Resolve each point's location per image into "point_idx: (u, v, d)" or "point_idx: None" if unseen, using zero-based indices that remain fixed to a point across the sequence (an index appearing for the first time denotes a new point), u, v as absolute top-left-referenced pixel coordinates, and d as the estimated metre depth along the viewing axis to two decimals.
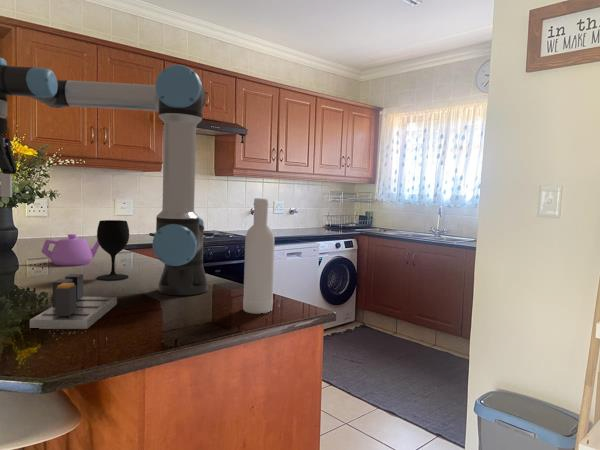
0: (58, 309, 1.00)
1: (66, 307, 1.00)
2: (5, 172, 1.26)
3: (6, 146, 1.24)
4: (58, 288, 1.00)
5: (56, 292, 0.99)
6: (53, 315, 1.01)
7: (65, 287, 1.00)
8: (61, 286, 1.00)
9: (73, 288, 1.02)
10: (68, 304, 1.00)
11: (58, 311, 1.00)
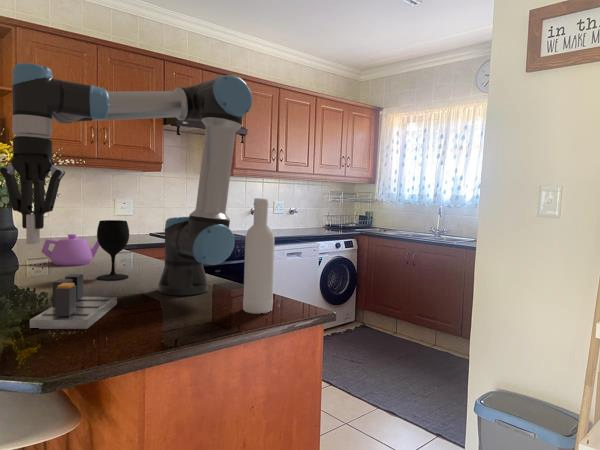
0: (58, 309, 1.00)
1: (66, 307, 1.00)
2: None
3: None
4: (58, 288, 1.00)
5: (56, 292, 0.99)
6: (53, 315, 1.01)
7: (65, 287, 1.00)
8: (61, 286, 1.00)
9: (73, 288, 1.02)
10: (68, 304, 1.00)
11: (58, 311, 1.00)
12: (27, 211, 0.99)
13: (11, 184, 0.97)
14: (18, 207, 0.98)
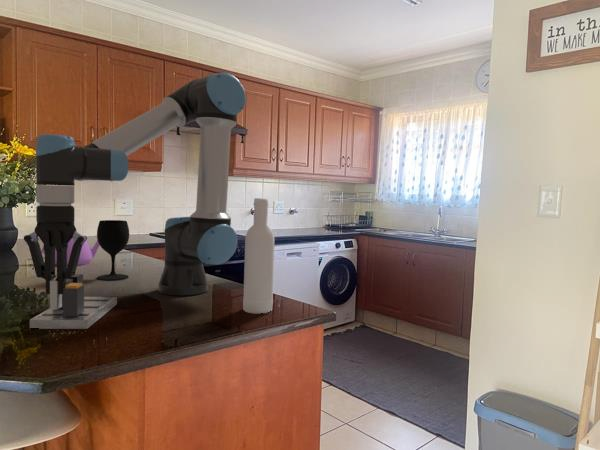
0: (66, 309, 1.00)
1: (73, 307, 1.00)
2: None
3: None
4: (66, 288, 1.00)
5: (64, 292, 1.00)
6: (53, 315, 1.01)
7: (73, 287, 1.00)
8: (69, 286, 1.00)
9: (81, 288, 1.02)
10: (76, 304, 1.00)
11: (66, 311, 1.00)
12: (50, 277, 1.00)
13: (35, 251, 0.99)
14: (42, 273, 1.00)
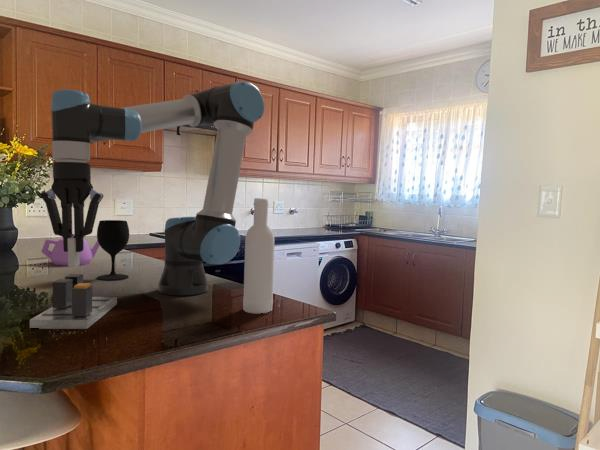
0: (75, 309, 1.00)
1: (82, 307, 1.00)
2: None
3: None
4: (75, 288, 1.00)
5: (73, 292, 1.00)
6: (53, 315, 1.01)
7: (82, 287, 1.00)
8: (78, 286, 1.00)
9: (89, 288, 1.02)
10: (85, 304, 1.00)
11: (75, 311, 1.00)
12: (68, 235, 1.00)
13: (52, 209, 0.99)
14: (59, 231, 1.00)
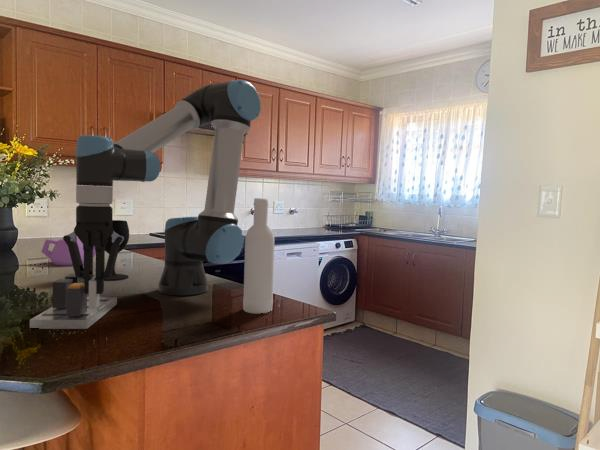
0: (69, 309, 1.00)
1: (77, 307, 1.00)
2: None
3: (113, 243, 1.01)
4: (69, 288, 1.00)
5: (67, 292, 1.00)
6: (53, 315, 1.01)
7: (76, 287, 1.00)
8: (72, 286, 1.00)
9: None
10: (79, 304, 1.00)
11: (69, 311, 1.00)
12: (89, 277, 1.01)
13: (74, 251, 1.00)
14: (81, 273, 1.01)
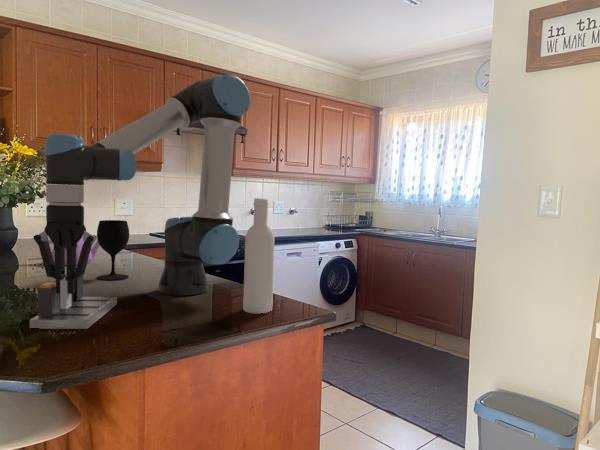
0: (41, 309, 0.99)
1: (48, 307, 0.99)
2: None
3: None
4: (40, 288, 0.99)
5: (38, 292, 0.99)
6: (53, 315, 1.01)
7: (47, 287, 0.99)
8: (43, 286, 0.99)
9: None
10: (50, 304, 0.99)
11: (40, 311, 0.99)
12: (61, 277, 1.00)
13: (45, 251, 0.99)
14: (52, 273, 1.00)
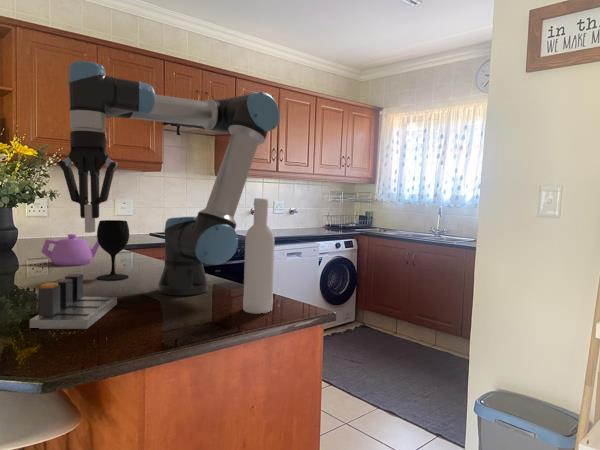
0: (42, 309, 0.99)
1: (49, 307, 0.99)
2: None
3: None
4: (41, 288, 0.99)
5: (39, 292, 0.99)
6: None
7: (48, 287, 0.99)
8: (44, 286, 0.99)
9: (57, 288, 1.02)
10: (51, 304, 0.99)
11: (41, 311, 0.99)
12: (85, 201, 1.04)
13: (69, 176, 1.03)
14: (76, 198, 1.04)
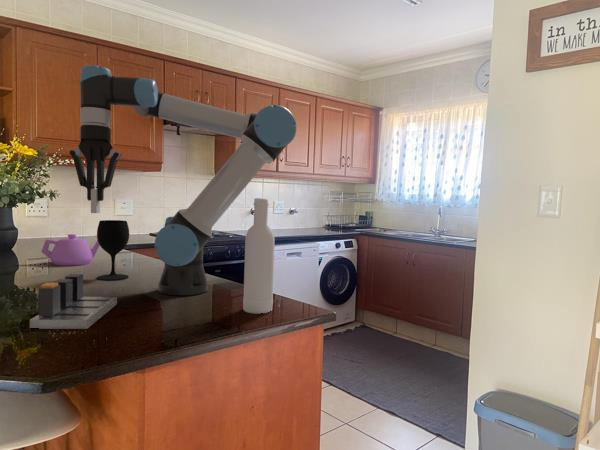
0: (42, 309, 0.99)
1: (49, 307, 0.99)
2: None
3: None
4: (41, 288, 0.99)
5: (39, 292, 0.99)
6: None
7: (48, 287, 0.99)
8: (44, 286, 0.99)
9: (57, 288, 1.02)
10: (51, 304, 0.99)
11: (41, 311, 0.99)
12: (91, 186, 1.21)
13: (78, 164, 1.20)
14: (84, 183, 1.20)
